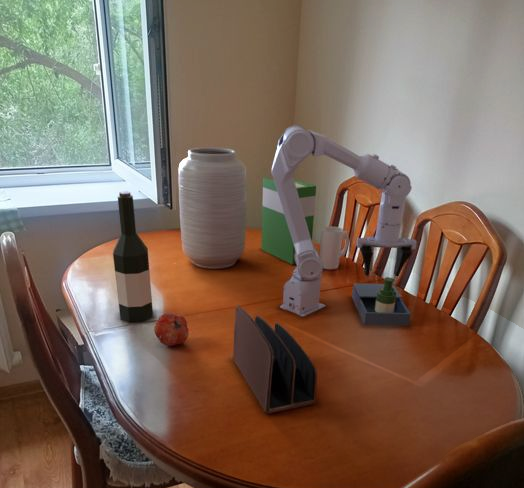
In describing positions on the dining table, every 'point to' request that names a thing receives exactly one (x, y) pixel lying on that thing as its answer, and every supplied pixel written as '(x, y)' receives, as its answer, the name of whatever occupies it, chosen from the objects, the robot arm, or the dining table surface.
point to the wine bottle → (131, 267)
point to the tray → (374, 318)
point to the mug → (332, 246)
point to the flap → (371, 290)
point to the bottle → (386, 297)
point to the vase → (212, 207)
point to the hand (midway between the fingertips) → (381, 274)
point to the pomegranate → (171, 329)
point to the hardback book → (283, 219)
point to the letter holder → (273, 364)
